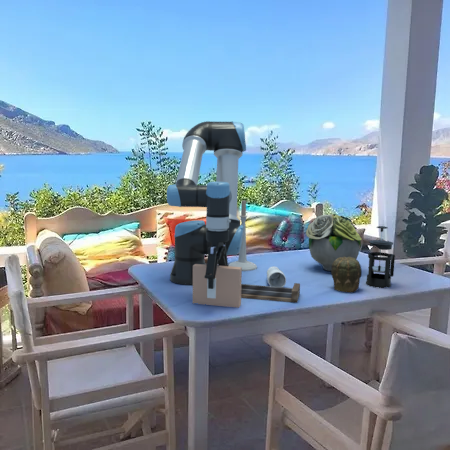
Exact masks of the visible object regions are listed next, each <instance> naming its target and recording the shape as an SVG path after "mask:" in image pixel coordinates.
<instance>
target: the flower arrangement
mask: <svg viewBox="0 0 450 450" xmlns="http://www.w3.org/2000/svg"><path fill="white" fill-rule="evenodd" d="M305 235H306V237H308V250H309V252H310V256H311V258H312V259H313V260H314V261H315V262H317V263H318V264H320V265H321V266H322V269H323V270H325V271H328V272H331V269H332V264H333V262H334V261H335V260H336V259H337V258H340V257H342V258H343V257H346V258H347V257H351V258H355V259H356V260H358V259H357V258H358V256H359V253H360V248H362V245H361V244H362V243H361V242H362V241H361V240H363V239H362V237H361V235H360V234H359V233H358V231H357V230H356V227H354V225H352V220H351V218H348V217H347V216H343V215H338V214H335V213H333V214H332V213H330V214H329V213H327V214H322V215H317V216H316V217H315V218H314V220H313V221H312V222H311V223H309V224H308V225H307V229H306V230H305Z"/></svg>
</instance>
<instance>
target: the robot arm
mask: <svg viewBox="0 0 450 450" xmlns="http://www.w3.org/2000/svg"><path fill="white" fill-rule="evenodd" d="M245 132H246V131H245V125H244V124H243V122H242V121H209V120H207V121H203V122H202V121H201V122H199V123H198V124H195V125H194V126H193V127H191V128H190V129H189V130H188V131H187V132H186V134H185V135H184V137H183V140H182V150H183V152H182V156H181V161H180V164H179V167H178V171H177V177H176V181H175V183H174V184H170V185H168V186H167V189H166V202H167V204H168V206H171V207H179V208H191V207H192V208H206V215H205V218H206V219H205V221H204V220H202V219H201V220H200V219H199V220H198V219H196V220H188V221H184V222H180V223H178V224H176V225H175V228H174V235H173V236H174V262H173V265H172V268H171V271H170V277H169V278H170V279H169V280H170V281H171V282H173V283H175V284H178V285H179V284H180V285H193V265H195V264H205V265H207V267H206V274H205V278H207V298H216V278H215V275H216V270H217V265H218V266H229V260H228V256H236V255H237V256H238V255H239V252H240V249H241V244H242V238H243V230H244V226H242V225H241V220H240V219H239V218H238V212H237V211H238V184H239V183H238V182H239V181H238V180H239V159H240V158H242V157H243V152H246V151H247V143H246V134H245ZM206 151H213V155H214V156H215V157H216V180H215V181H209V182H207V184H206V185H204V184H202V185H200V184H199V185H198V182H199V176H200V170H201V167H202V166H201V165H202V159H203V155H204V154H205V153H206ZM205 255H207V261H206V262H205Z"/></svg>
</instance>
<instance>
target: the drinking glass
mask: <svg viewBox="0 0 450 450" xmlns="http://www.w3.org/2000/svg"><path fill="white" fill-rule="evenodd" d="M266 277H267V278H266V279H267V283H268V286H272V287H284V288H285V285H286V283H287V277H286V275H285V273H284V272H283V271H282V270H280V269H279V267H278V266H274V265H273V266H270V267H269V268H267V271H266Z"/></svg>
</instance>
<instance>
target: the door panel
mask: <svg viewBox="0 0 450 450" xmlns="http://www.w3.org/2000/svg"><path fill="white" fill-rule="evenodd" d="M205 264H206V263H205ZM205 264H195V265H193V284H192V304H194V303H198V304H197V305H205V304H206V305H207V306H217V307H218V306H219V307H228V308H238V309H239V308H240V307H241V305H242V298H241V284H242V277H243V276H242V275H243V274H242V272H243V271H242V267H232V266H219V265H217V270H216V275H215V278H216V298H207V278H205V274H206V267H207V264H206V265H205ZM206 305H205V306H206Z"/></svg>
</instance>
